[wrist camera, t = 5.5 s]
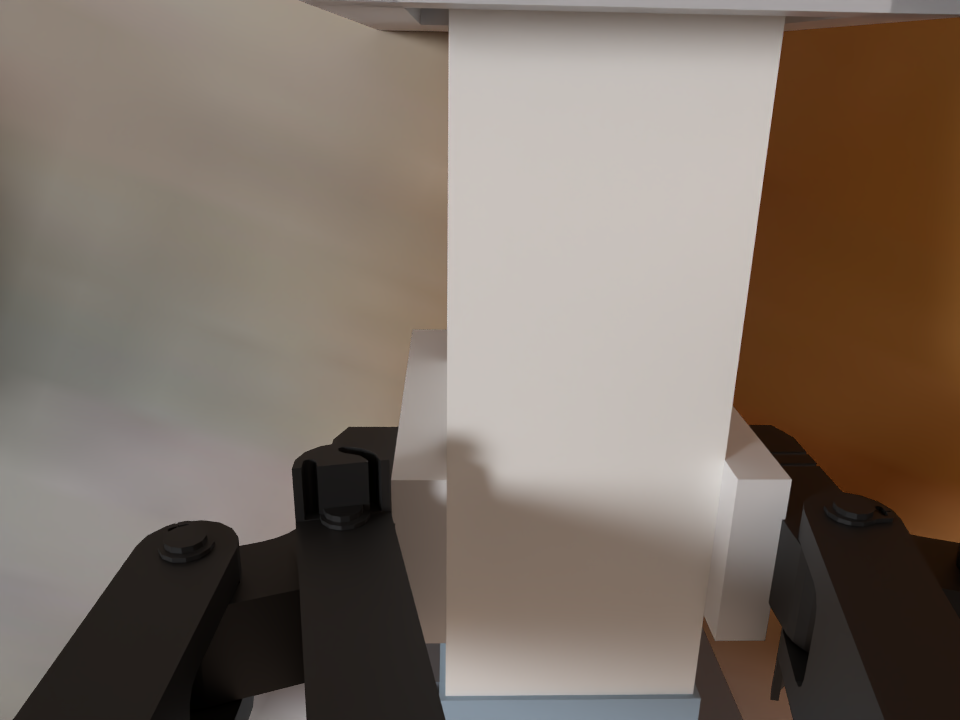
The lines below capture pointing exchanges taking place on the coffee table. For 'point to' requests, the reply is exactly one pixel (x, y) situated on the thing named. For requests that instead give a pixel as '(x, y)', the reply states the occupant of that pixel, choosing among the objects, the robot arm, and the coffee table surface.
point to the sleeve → (646, 10)
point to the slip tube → (593, 348)
